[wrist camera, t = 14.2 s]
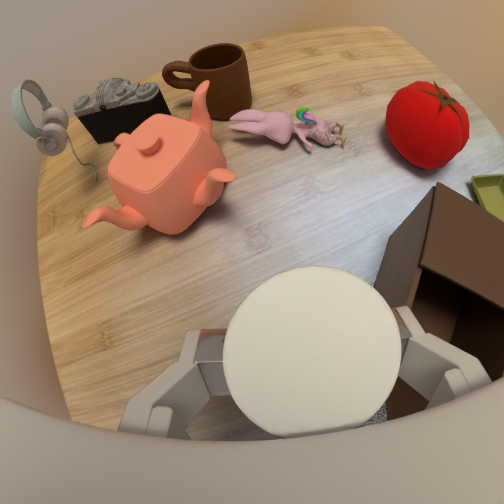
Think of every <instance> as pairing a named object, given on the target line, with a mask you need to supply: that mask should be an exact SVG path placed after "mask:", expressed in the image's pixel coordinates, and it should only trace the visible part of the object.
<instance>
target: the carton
mask: <svg viewBox="0 0 504 504" xmlns="http://www.w3.org/2000/svg"><path fill="white" fill-rule="evenodd" d="M373 288H374V289H375V290H376V291H378V292H379V294H380V295H381V296H382V297H383V298H384V300H385V301H386V302H387V304H388V305H389V307H390V309H394V308H396V307H401V306H408V307H409V309H410V310H411V312H412V313H413V315H414V316H415V318H416V319H417V321H418V322H419V324H420V326H421V327H422V329H423V330H424V332H425V333H426V334H427V333H430V334H432V335H434V336H436V337H438V338H440V339H442V340H443V341H445V342H447V343H449V344H451V345H453V346H455V347H457V348H459V349H461V350H462V351H464V352H466V353H468V354H470V355H472V356H474V357H476V358H478V360H479V361H480V363H481V365H482V366H483V368H484V369H485V371H486V373H487V374H488V376H489V377H490V379H491V381H492V382H494V381H496V380H498V379H500V378H501V377H503V376H504V222H503V221H502V220H500V219H499V218H497V217H496V216H494V215H493V214H491V213H490V212H488V211H487V210H485V209H484V208H482V207H480V206H479V205H477V204H476V203H474V202H472V201H471V200H469V199H467V198H466V197H464V196H462V195H461V194H459V193H457V192H455V191H454V190H452V189H450V188H448V187H447V186H445V185H443V184H441V183H439V182H437V184H436V187H435V186H433V187H432V188H431V190H430V191H429V192H428V193H427V194H426V196H425V197H424V198H423V199H422V200H421V202H420V203H419V204H418V205H417V206H416V208H415V209H414V210H413V211H412V212H411V213H410V215H409V216H408V217H407V218H406V219H405V220H404V221H403V223H402V224H401V225H400V226H399V227H398V228H397V229H396V230H395V232H394V233H393V234H392V235H391V236H390V238H389V241H388V245H387V248H386V251H385V254H384V257H383V261H382V264H381V267H380V270H379V273H378V276H377V279H376V281H375V284H374V287H373ZM398 378H400V377H399V376H398Z"/></svg>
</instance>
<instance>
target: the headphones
mask: <svg viewBox="0 0 504 504" xmlns="http://www.w3.org/2000/svg"><path fill="white" fill-rule="evenodd" d="M22 89H25V90H27V91H29V92H31V93H32V94H33V95H34V96H35V97H37V99H38V100H39V101H40V103H41V105H42V106H43V111H44V112H43V113H42V116H41V118H40V123H39V126H40V128H37V129H36V128H35V126H34V125H33V124H32V122H31V120H30V118H29V117H28V115H27V112H26V110H25V107H24V105H23V101H22ZM51 106H52V105H51V103H49V101H48V99H47V98H46V96H45V94H44V92H43V91H42V89H41V87H40V86H39V85H38V84H37V83H36V82H35V81H32V80H25V81H24V82H23V83H22V84H21V85H19V86H18V87H17V88H16V89H15V90H14V91H13V93H12V97H11V107H12V111H13V114H14V117H15V119H16V121H17V123H18V124H19V126H20V127H21V128H22V129H23V130H24V131H25V132H26V133H27V134H29V135H30V136H31V137H33V138H35V139H36V140H37V147H38V149H39V151H40V152H41V153H43V154H45V155H48V156H54V155H58V154H60V153H61V152H62V151H63V150H64V149H65V147H66V144H67V137H68V140H69V142H70V145H71V148H72V150H73V153H74V154H75V151H74V149H73V146H72V143H71V141H70V138H69V136H68V134H67V132H66V129H67V127H68V115H67V112H66V111H65V110H64V109H62V108H61V107H57V106H53V107H51ZM38 129H39V130H38ZM75 156H76V158H77V160H78V161H79V162H80V164H82V165H90V166H91V167H92V165H91V164H89V163H87V164H83V163H81V161H80V160H79V159H78V157H77V155H76V154H75ZM92 169H93V171H94V173H95V181H96V172H95V170H94V168H93V167H92Z"/></svg>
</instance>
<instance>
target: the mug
mask: <svg viewBox="0 0 504 504" xmlns="http://www.w3.org/2000/svg"><path fill="white" fill-rule="evenodd" d="M173 71H177V72H183V73H189V74H191V77H192V79H191V78H178V77H176V76H175V75H174V74H173ZM162 76H163V79H164V80H165V82H166V83H167V84H168V85H170V86H172V87H174V88H177V89H189V90H192V91H194V92H195V91H196V89H197V88H198V86H199V85H200V84H201V83H202V82H204V81H206V80H209V82H210V84H209V87H208V90H207V93H206V106H207V110H208V113H209V116H210V117H211V118H214V119H219V120H226V119H230V118H231V117H232V116H233V115H235V114H236V113H238V112H240V111H243V110H247V109H248V108H249V107H250V105H251V100H252V96H251V88H250V80H249V73H248V66H247V60H246V57H245V53H244V50H243V49H242V48H241V47H240V46H238V45H234V44H229V43H220V44H214V45H210V46H207V47H204V48H202V49H200V50H198V51H197V52H195V53H194V54H193V55H192V56H191V57H190V59H189V61H188V62H182V61H174V62H171V63H169V64H167V65H165V67H164V68H163V71H162Z"/></svg>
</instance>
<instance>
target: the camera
mask: <svg viewBox="0 0 504 504" xmlns="http://www.w3.org/2000/svg"><path fill="white" fill-rule="evenodd" d="M73 106H74V109H73V112H74V114H75V115H76V116H77V117H78V119H79V120H80V121H81V123H82V124H83V125H84V126H85V128H86V129H87V130H88V131H89V133H90V134H91V135H92V137H93V138H94V139H95V140H96V142H97V143H98V144H104V143H110V142H114V141H115V139H116V138H117V136H118V135H120V134H121V133H127V134H131V133H132V132H133V131H134V130H135V129H136V128H138V127H139V126H140V125H141V124H142V123H143V122H144V121H146V120H147V119H148V118H150V117H151V116H153V115H155V114H165V115H170V116H172V115H171V113H170V111H169V109H168V107H167V104H166V102H165V100H164V98H163V95H162V93H161V91H160V89H159V87H158V85H157V84H155V83H154V82H146V83H144V84H142V85H140V83H134V84H131V83H130V81H129V80H124V79H121V78H112V79H108V80H104V81H101V82H99V84H98V86H97V89H96V91H95V93H94V94H92V95H89V96H88V95H83V96H81V97H79V98H78V99H77V100H76V101H75V103H74V105H73Z"/></svg>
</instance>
